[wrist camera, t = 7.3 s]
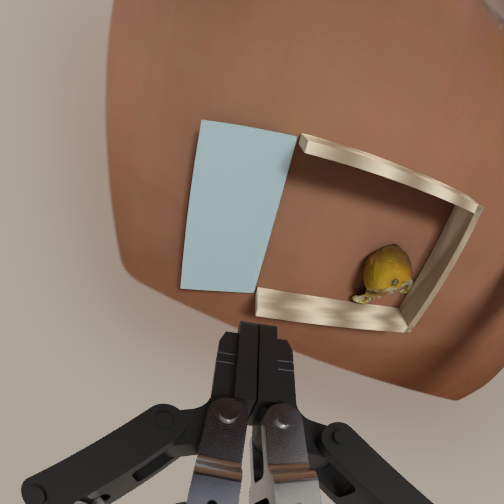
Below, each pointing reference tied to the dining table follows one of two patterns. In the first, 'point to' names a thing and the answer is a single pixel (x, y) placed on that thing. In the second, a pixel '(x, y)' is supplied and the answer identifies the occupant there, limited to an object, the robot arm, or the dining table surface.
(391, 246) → the fruit
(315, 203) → the dining table surface
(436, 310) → the dining table surface
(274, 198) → the panel
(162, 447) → the robot arm
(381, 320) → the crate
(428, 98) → the dining table surface
